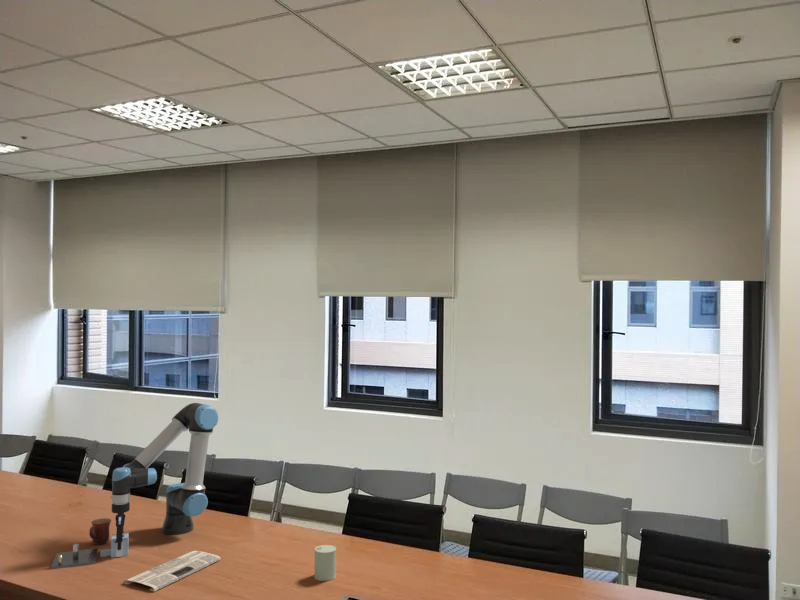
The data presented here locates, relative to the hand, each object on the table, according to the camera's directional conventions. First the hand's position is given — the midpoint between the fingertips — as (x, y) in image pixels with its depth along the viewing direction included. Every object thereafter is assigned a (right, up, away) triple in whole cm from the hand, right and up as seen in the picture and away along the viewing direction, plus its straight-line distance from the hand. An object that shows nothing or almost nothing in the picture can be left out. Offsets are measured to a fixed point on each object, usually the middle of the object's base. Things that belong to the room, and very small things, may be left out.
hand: (119, 553), depth 285 cm
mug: (-16, -1, +13) cm, 21 cm away
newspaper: (+31, -1, -19) cm, 37 cm away
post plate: (-17, 0, -7) cm, 18 cm away
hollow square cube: (-2, 0, -1) cm, 2 cm away
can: (+97, 0, -24) cm, 100 cm away
